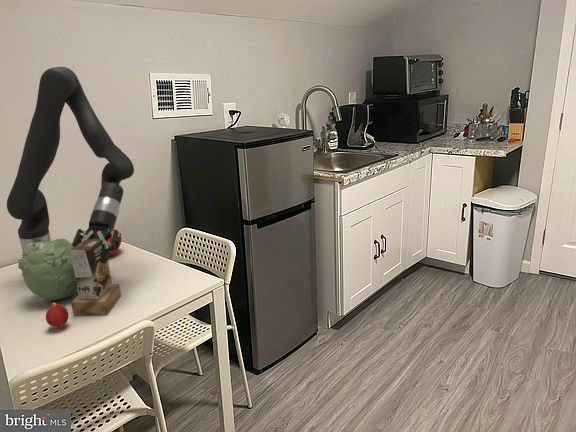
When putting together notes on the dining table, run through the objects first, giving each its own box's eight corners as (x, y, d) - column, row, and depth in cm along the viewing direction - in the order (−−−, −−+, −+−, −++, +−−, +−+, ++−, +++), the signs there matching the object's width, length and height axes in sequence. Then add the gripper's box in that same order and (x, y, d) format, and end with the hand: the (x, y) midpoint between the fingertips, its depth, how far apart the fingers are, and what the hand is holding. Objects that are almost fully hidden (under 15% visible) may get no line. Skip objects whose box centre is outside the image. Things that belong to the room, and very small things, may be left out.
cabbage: (94, 299, 149) (83, 240, 143) (28, 316, 141) (13, 254, 135) (87, 281, 163) (77, 227, 156) (26, 295, 154) (13, 239, 148)
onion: (53, 323, 136) (47, 298, 134) (73, 321, 137) (68, 296, 134) (45, 333, 131) (39, 308, 128) (66, 332, 131) (61, 306, 129)
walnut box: (74, 317, 139) (71, 302, 138) (90, 298, 151) (87, 284, 149) (107, 316, 139) (104, 301, 138) (121, 297, 151) (118, 283, 149)
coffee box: (99, 299, 139) (89, 249, 134) (79, 299, 140) (68, 249, 135) (113, 285, 147) (105, 238, 142) (94, 285, 148) (85, 238, 143)
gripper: (78, 208, 146) (61, 256, 139) (119, 209, 143) (105, 258, 136) (91, 219, 153) (76, 265, 145) (131, 220, 150) (117, 267, 143)
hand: (90, 262), depth 141 cm, fingers open, 8 cm apart
